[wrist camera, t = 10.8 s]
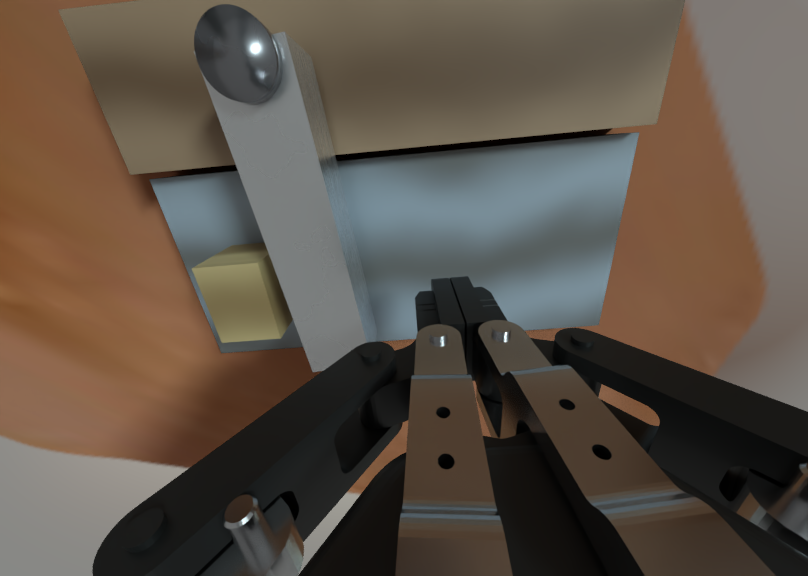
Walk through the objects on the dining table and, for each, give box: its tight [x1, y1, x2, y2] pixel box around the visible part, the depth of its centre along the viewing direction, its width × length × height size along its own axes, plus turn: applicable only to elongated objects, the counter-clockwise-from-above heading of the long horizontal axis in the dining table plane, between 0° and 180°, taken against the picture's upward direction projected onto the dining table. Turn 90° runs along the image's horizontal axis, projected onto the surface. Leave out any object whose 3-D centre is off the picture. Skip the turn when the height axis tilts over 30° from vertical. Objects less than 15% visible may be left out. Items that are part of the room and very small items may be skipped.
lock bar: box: [194, 4, 377, 372], centre depth 13 cm, size 14×3×4 cm, turn 10°
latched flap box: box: [59, 0, 685, 353], centre depth 15 cm, size 17×24×6 cm
